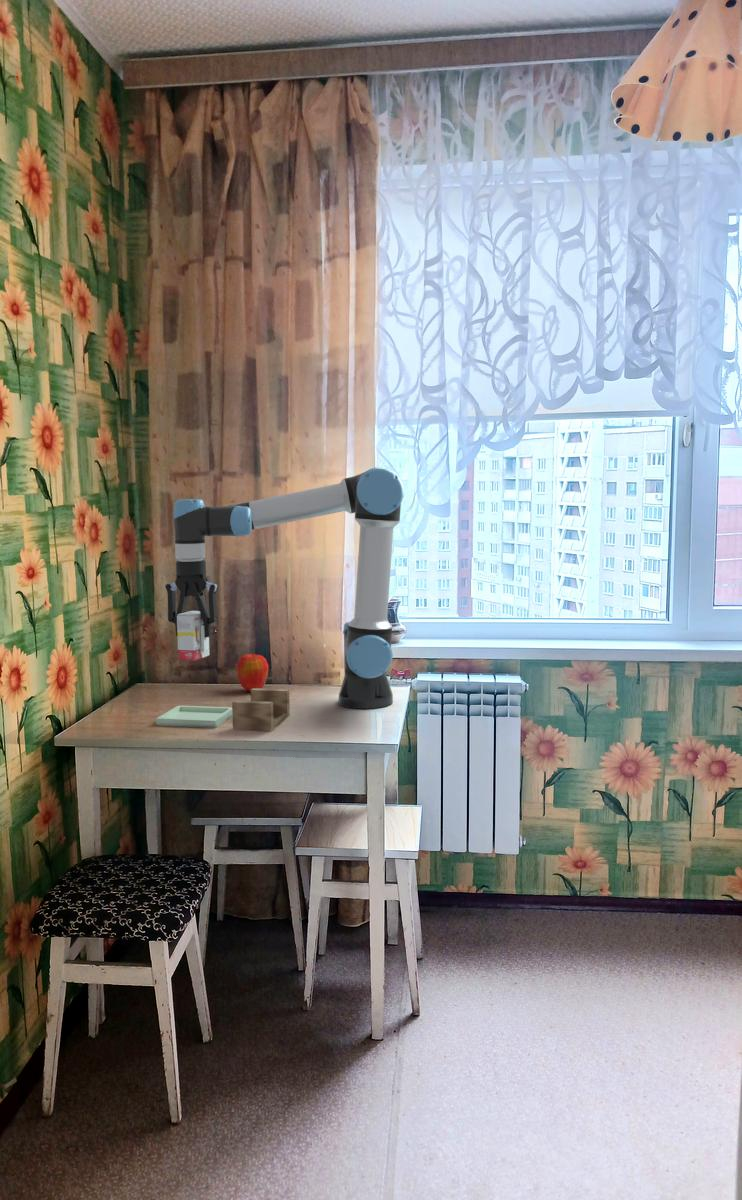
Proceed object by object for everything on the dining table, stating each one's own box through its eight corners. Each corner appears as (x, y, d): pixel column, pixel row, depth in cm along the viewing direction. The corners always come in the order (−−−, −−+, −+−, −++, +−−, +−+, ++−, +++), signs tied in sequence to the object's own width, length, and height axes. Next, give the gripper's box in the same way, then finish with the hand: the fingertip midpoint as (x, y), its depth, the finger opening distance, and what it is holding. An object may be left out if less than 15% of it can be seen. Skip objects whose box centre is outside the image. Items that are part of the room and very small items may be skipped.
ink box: (194, 661, 232) (192, 615, 230) (177, 660, 233) (175, 614, 232) (210, 655, 240) (209, 610, 238) (194, 654, 242) (192, 610, 240)
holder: (289, 715, 242) (289, 689, 241) (271, 731, 226) (270, 703, 226) (253, 713, 244) (253, 688, 243) (232, 729, 228) (232, 702, 228)
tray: (234, 714, 244) (234, 707, 244) (215, 727, 230) (215, 720, 230) (178, 711, 247) (178, 705, 247) (156, 725, 234) (156, 718, 233)
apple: (233, 694, 268) (232, 653, 266) (243, 687, 276) (242, 648, 275) (263, 695, 266) (262, 654, 264) (272, 688, 275) (271, 649, 273)
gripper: (229, 558, 235) (232, 647, 238) (163, 558, 239) (166, 646, 242) (219, 561, 228) (222, 652, 231) (150, 560, 232) (154, 651, 235)
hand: (193, 649), depth 236 cm, fingers closed on ink box, 5 cm apart
